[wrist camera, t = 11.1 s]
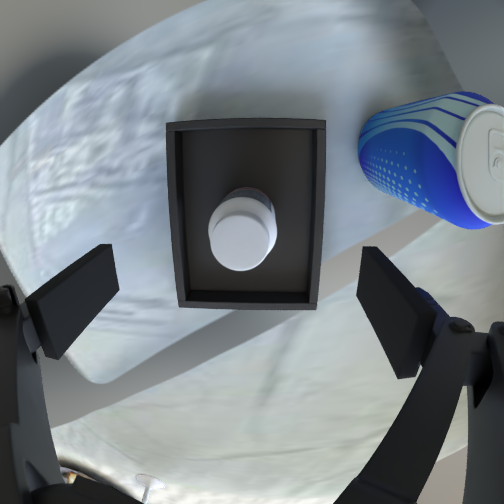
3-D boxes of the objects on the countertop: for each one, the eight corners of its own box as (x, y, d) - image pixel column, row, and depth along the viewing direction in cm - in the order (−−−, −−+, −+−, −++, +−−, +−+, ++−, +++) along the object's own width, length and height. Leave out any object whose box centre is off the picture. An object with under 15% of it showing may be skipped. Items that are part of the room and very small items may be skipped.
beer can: (441, 150, 26) (554, 167, 11) (397, 210, 28) (495, 269, 13) (385, 93, 24) (486, 57, 9) (336, 155, 27) (413, 166, 12)
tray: (175, 125, 27) (165, 122, 24) (320, 122, 26) (326, 119, 23) (185, 294, 32) (178, 307, 30) (312, 296, 32) (316, 310, 29)
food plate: (121, 510, 60) (118, 518, 57) (54, 474, 57) (50, 481, 53) (146, 497, 53) (142, 507, 49) (62, 452, 49) (57, 462, 46)
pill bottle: (211, 197, 28) (188, 218, 20) (264, 179, 28) (264, 193, 19) (230, 247, 30) (216, 287, 22) (282, 232, 29) (288, 267, 21)
